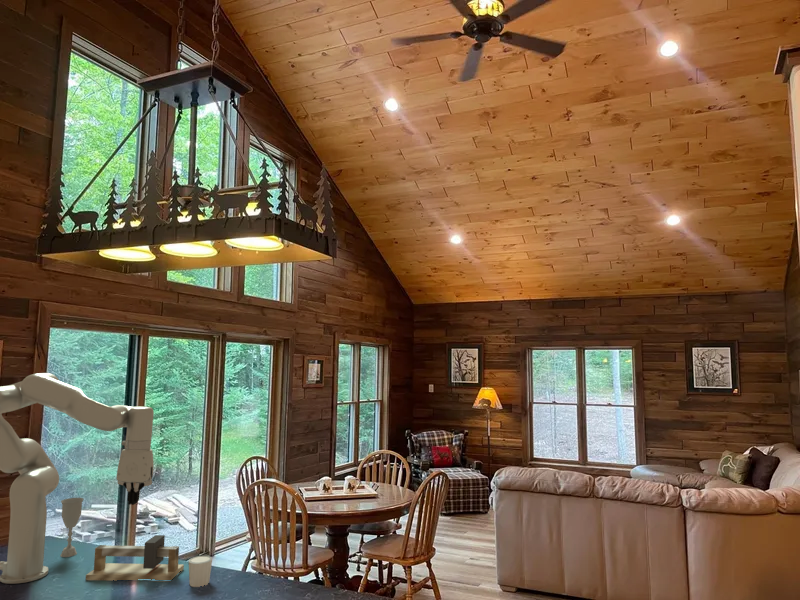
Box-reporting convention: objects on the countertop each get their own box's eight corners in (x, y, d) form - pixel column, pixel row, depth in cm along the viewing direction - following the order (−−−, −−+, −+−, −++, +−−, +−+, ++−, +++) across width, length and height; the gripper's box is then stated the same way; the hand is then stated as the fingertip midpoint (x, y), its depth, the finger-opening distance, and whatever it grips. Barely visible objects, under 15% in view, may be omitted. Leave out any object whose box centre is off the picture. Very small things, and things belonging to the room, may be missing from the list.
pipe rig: (85, 580, 174) (87, 551, 174) (102, 568, 184) (104, 540, 184) (170, 581, 173) (172, 552, 174) (183, 569, 183) (184, 542, 184)
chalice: (63, 551, 199) (67, 497, 201) (83, 550, 200) (87, 497, 201) (52, 558, 192) (56, 503, 193) (74, 557, 192) (78, 502, 194)
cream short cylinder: (203, 588, 168) (204, 564, 169) (182, 586, 170) (183, 562, 170) (215, 580, 175) (216, 556, 176) (195, 578, 176) (196, 554, 177)
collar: (143, 568, 175) (144, 542, 176) (154, 559, 183) (155, 535, 183) (153, 568, 175) (154, 542, 176) (163, 559, 183) (164, 535, 183)
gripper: (109, 446, 182) (103, 505, 180) (156, 448, 182) (150, 507, 180) (121, 442, 189) (115, 499, 187) (165, 444, 189) (160, 502, 187)
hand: (132, 503), depth 184 cm, fingers closed
